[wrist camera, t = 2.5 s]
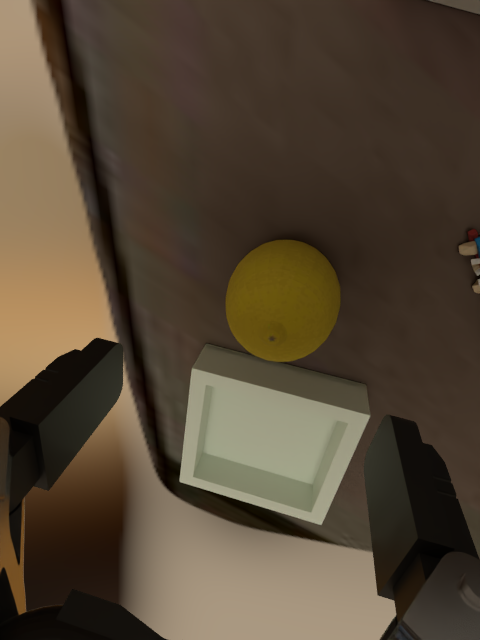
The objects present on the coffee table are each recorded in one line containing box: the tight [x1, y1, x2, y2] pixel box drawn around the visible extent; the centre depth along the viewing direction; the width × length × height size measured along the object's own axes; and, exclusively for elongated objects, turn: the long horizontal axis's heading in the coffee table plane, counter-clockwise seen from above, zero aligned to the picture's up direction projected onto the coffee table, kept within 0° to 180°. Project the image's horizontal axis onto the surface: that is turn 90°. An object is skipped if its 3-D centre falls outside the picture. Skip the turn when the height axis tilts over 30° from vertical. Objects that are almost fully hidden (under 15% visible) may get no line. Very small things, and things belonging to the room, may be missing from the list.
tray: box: [180, 343, 370, 525], centre depth 26 cm, size 11×11×3 cm
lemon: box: [226, 240, 341, 362], centre depth 18 cm, size 6×6×8 cm
